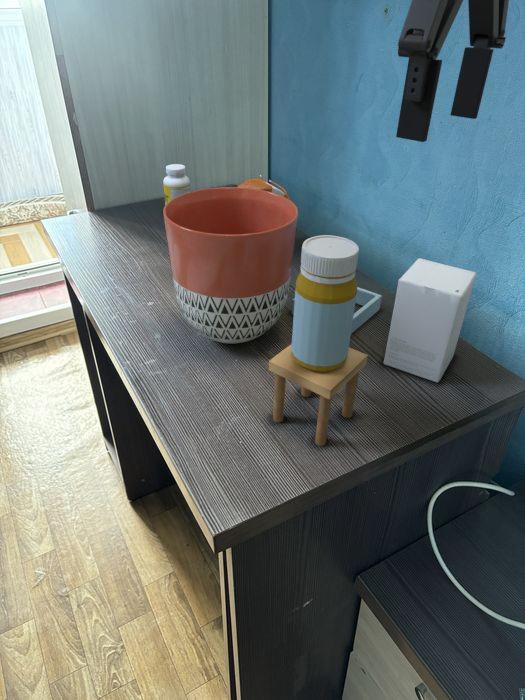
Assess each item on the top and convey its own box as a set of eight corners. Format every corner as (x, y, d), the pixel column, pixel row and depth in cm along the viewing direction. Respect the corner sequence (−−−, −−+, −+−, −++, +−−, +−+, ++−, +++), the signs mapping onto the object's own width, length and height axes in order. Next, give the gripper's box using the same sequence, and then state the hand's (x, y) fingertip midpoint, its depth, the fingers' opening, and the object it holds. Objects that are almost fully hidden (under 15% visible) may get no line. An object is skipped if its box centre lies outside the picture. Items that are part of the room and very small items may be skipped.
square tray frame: (379, 309, 95) (382, 295, 93) (347, 337, 87) (349, 322, 85) (325, 290, 100) (327, 276, 98) (291, 313, 93) (292, 299, 91)
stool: (357, 413, 71) (368, 354, 66) (323, 450, 66) (330, 390, 60) (303, 387, 76) (308, 330, 70) (266, 420, 70) (268, 360, 64)
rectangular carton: (455, 355, 83) (480, 271, 75) (438, 384, 77) (463, 296, 68) (401, 337, 87) (418, 255, 79) (381, 364, 81) (397, 278, 72)
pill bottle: (172, 207, 135) (168, 161, 128) (195, 210, 133) (193, 164, 127) (161, 216, 129) (157, 169, 123) (185, 219, 128) (182, 171, 121)
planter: (313, 330, 88) (324, 207, 76) (236, 383, 76) (235, 248, 64) (230, 292, 99) (228, 179, 86) (150, 334, 86) (134, 209, 74)
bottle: (279, 358, 65) (285, 246, 56) (312, 335, 69) (323, 228, 60) (325, 382, 61) (339, 266, 52) (357, 356, 65) (375, 245, 57)
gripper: (500, -134, 50) (449, 104, 62) (382, -197, 34) (344, 143, 46) (585, -142, 46) (513, 114, 59) (498, -216, 30) (424, 159, 42)
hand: (439, 127), depth 52 cm, fingers open, 13 cm apart
